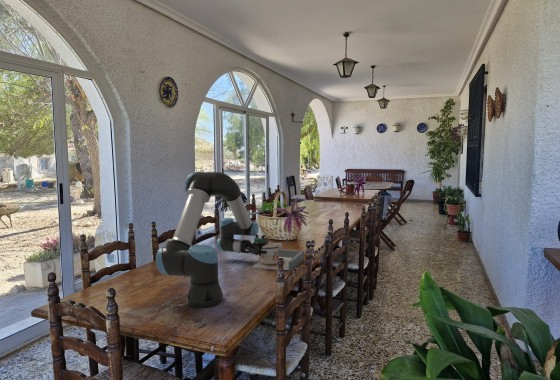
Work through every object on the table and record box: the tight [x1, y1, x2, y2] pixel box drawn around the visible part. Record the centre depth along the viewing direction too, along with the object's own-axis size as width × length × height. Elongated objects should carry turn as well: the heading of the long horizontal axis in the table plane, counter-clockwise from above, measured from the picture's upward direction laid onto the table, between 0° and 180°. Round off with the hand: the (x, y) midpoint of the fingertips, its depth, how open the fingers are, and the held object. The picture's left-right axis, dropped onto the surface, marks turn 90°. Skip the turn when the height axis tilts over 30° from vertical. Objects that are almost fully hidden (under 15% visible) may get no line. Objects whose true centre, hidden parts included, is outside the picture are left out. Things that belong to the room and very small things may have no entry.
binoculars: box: [253, 234, 267, 249], centre depth 239 cm, size 9×11×10 cm
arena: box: [252, 248, 305, 272], centre depth 212 cm, size 22×22×5 cm
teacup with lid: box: [262, 241, 279, 264], centre depth 209 cm, size 12×9×12 cm
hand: (277, 249), depth 208 cm, fingers open, 13 cm apart
